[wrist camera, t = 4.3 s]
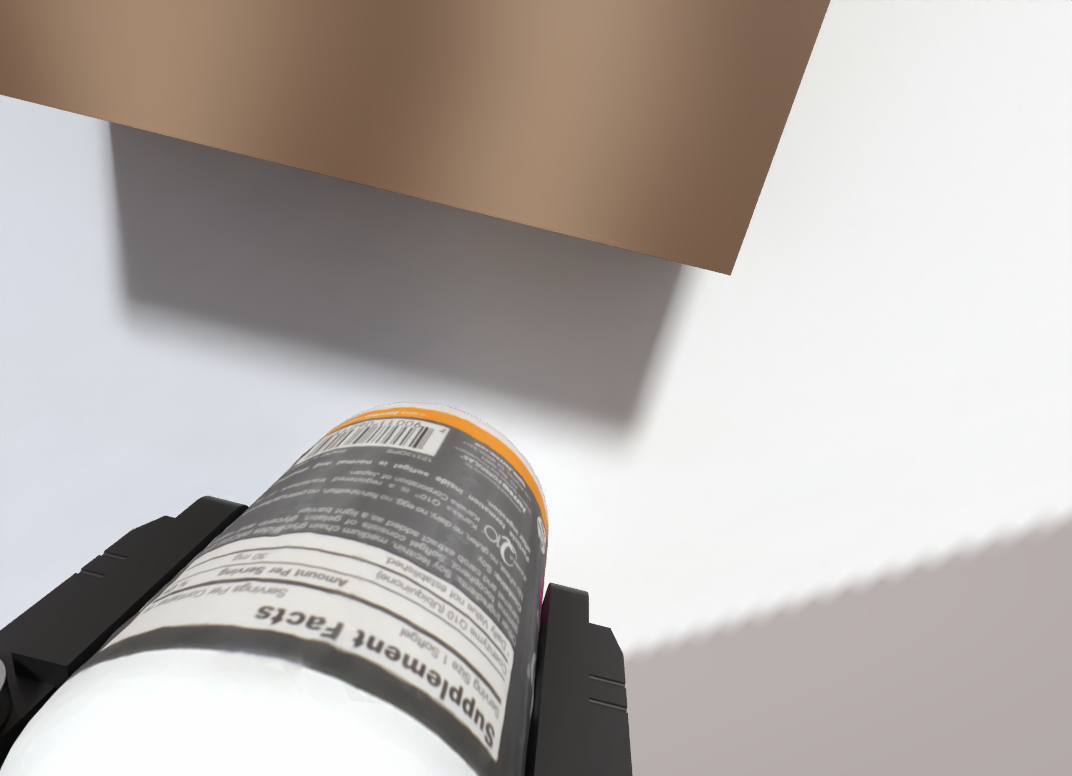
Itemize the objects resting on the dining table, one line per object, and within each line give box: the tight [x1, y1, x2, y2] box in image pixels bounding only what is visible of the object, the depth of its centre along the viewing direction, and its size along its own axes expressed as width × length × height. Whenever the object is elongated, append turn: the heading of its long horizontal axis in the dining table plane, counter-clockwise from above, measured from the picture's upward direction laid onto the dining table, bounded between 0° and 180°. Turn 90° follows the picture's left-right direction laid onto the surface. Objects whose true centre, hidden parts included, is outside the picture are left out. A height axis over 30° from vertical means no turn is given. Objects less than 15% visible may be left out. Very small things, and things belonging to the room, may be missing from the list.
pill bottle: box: [0, 402, 548, 776], centre depth 8 cm, size 6×6×10 cm
